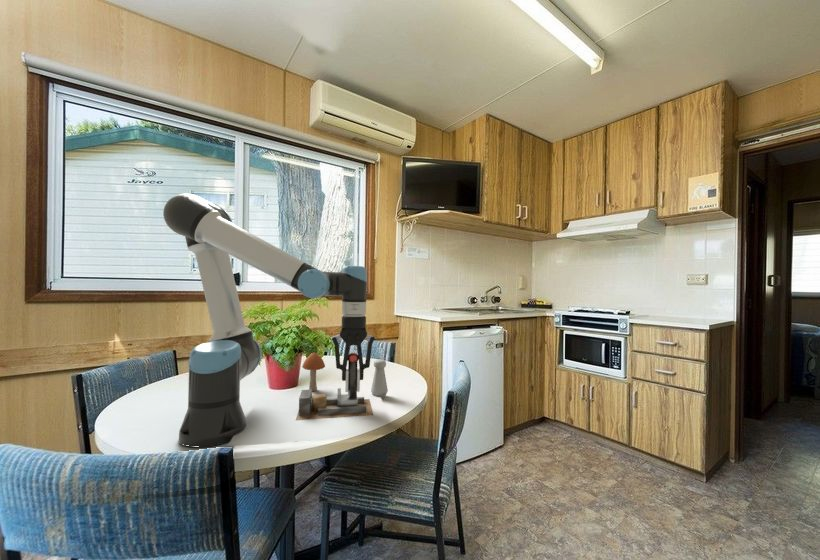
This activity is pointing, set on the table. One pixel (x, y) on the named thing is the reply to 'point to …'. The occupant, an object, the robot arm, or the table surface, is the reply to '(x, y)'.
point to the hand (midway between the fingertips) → (352, 390)
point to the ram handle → (350, 384)
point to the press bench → (331, 408)
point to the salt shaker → (379, 379)
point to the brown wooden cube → (319, 402)
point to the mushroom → (313, 368)
